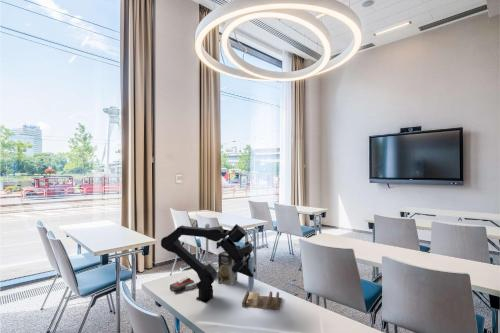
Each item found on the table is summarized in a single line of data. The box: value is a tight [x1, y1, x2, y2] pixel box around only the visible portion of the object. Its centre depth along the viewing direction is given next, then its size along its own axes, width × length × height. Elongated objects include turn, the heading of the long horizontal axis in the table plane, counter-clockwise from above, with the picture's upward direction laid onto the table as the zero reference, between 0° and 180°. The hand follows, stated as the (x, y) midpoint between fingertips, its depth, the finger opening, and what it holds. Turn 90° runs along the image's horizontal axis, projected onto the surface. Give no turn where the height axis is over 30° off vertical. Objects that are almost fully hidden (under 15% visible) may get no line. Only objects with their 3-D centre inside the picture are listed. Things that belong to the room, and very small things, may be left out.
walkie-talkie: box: [169, 276, 200, 293], centre depth 145 cm, size 9×4×20 cm
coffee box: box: [217, 251, 238, 286], centre depth 149 cm, size 9×6×16 cm
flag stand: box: [200, 223, 218, 272], centre depth 162 cm, size 13×13×30 cm
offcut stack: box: [246, 291, 260, 306], centre depth 128 cm, size 5×8×2 cm, turn 170°
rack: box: [241, 290, 283, 312], centre depth 127 cm, size 17×12×3 cm
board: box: [247, 255, 255, 292], centre depth 128 cm, size 2×6×14 cm, turn 170°
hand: (254, 274), depth 128 cm, fingers closed on board, 6 cm apart
